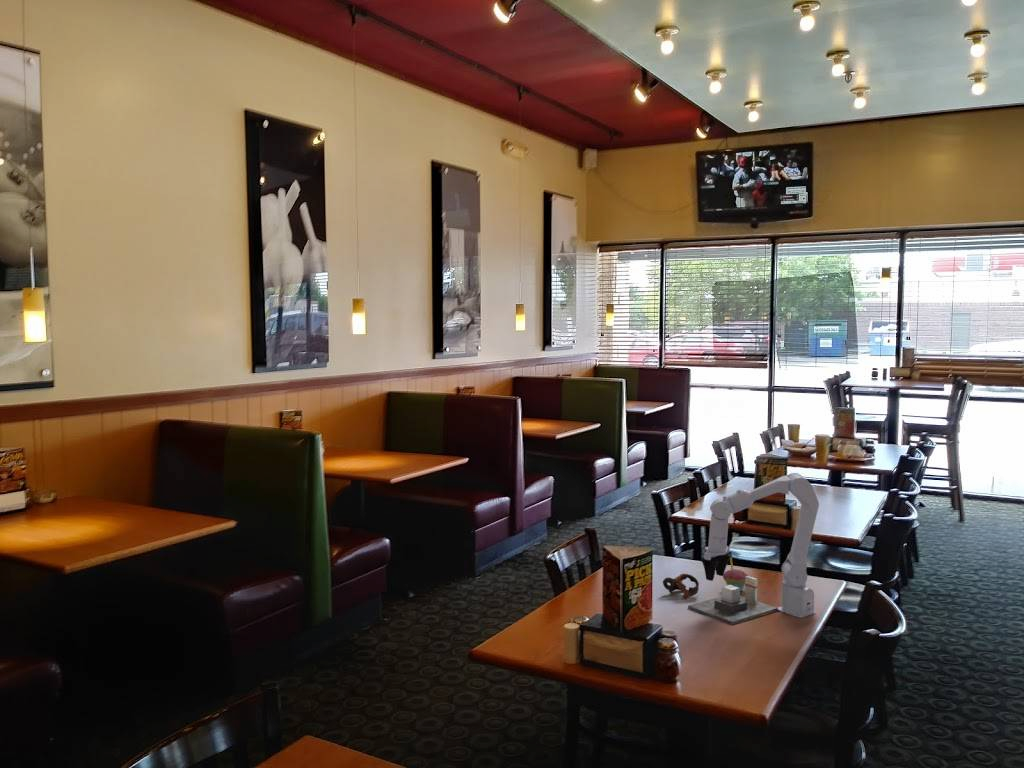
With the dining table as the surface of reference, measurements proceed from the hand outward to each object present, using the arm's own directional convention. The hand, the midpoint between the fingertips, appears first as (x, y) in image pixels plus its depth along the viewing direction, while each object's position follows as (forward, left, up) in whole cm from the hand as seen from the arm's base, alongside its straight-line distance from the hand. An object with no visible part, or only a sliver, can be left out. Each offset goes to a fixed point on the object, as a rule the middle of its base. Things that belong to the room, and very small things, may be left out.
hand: (714, 577), depth 266 cm
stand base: (-5, -2, -10) cm, 11 cm away
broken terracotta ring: (+15, -1, -10) cm, 18 cm away
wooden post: (-5, -2, -9) cm, 10 cm away
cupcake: (+8, -20, -10) cm, 24 cm away
